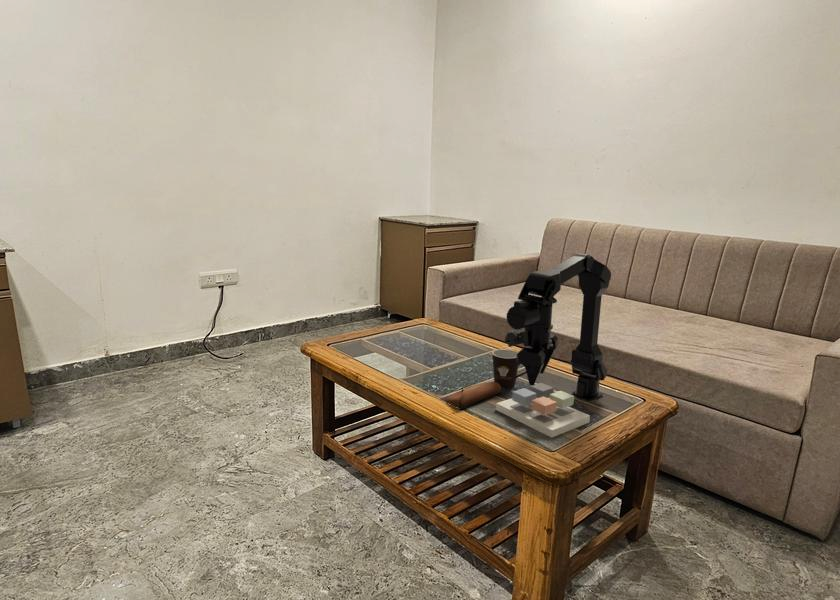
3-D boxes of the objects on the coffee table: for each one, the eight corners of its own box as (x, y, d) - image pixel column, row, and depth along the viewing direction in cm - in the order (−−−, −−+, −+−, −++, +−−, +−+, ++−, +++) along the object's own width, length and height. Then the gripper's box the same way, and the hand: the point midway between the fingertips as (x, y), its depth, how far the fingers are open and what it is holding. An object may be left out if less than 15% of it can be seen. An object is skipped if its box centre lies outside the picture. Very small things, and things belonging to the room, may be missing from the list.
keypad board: (532, 397, 163) (533, 390, 162) (589, 422, 147) (589, 414, 147) (496, 409, 154) (496, 402, 154) (551, 437, 139) (552, 429, 138)
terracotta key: (542, 405, 148) (543, 396, 148) (556, 410, 145) (556, 402, 144) (531, 409, 146) (531, 400, 145) (544, 415, 142) (545, 406, 141)
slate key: (523, 396, 154) (524, 388, 153) (535, 401, 150) (536, 393, 150) (512, 400, 151) (512, 391, 150) (524, 405, 148) (524, 397, 147)
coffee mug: (485, 383, 173) (486, 353, 171) (502, 376, 179) (503, 347, 177) (515, 394, 165) (517, 362, 163) (532, 386, 171) (534, 356, 169)
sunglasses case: (479, 385, 171) (489, 371, 168) (494, 402, 168) (504, 387, 164) (439, 401, 159) (448, 386, 156) (454, 419, 156) (464, 404, 152)
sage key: (560, 399, 152) (560, 390, 152) (573, 404, 149) (574, 396, 148) (549, 402, 150) (549, 394, 149) (562, 408, 146) (563, 399, 146)
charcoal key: (540, 390, 158) (541, 382, 157) (553, 396, 154) (553, 387, 154) (529, 394, 155) (530, 386, 155) (542, 399, 152) (542, 391, 151)
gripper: (519, 309, 153) (517, 363, 156) (497, 326, 136) (495, 385, 140) (560, 314, 148) (556, 369, 151) (542, 333, 132) (538, 394, 135)
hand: (536, 379), depth 145 cm, fingers open, 9 cm apart
